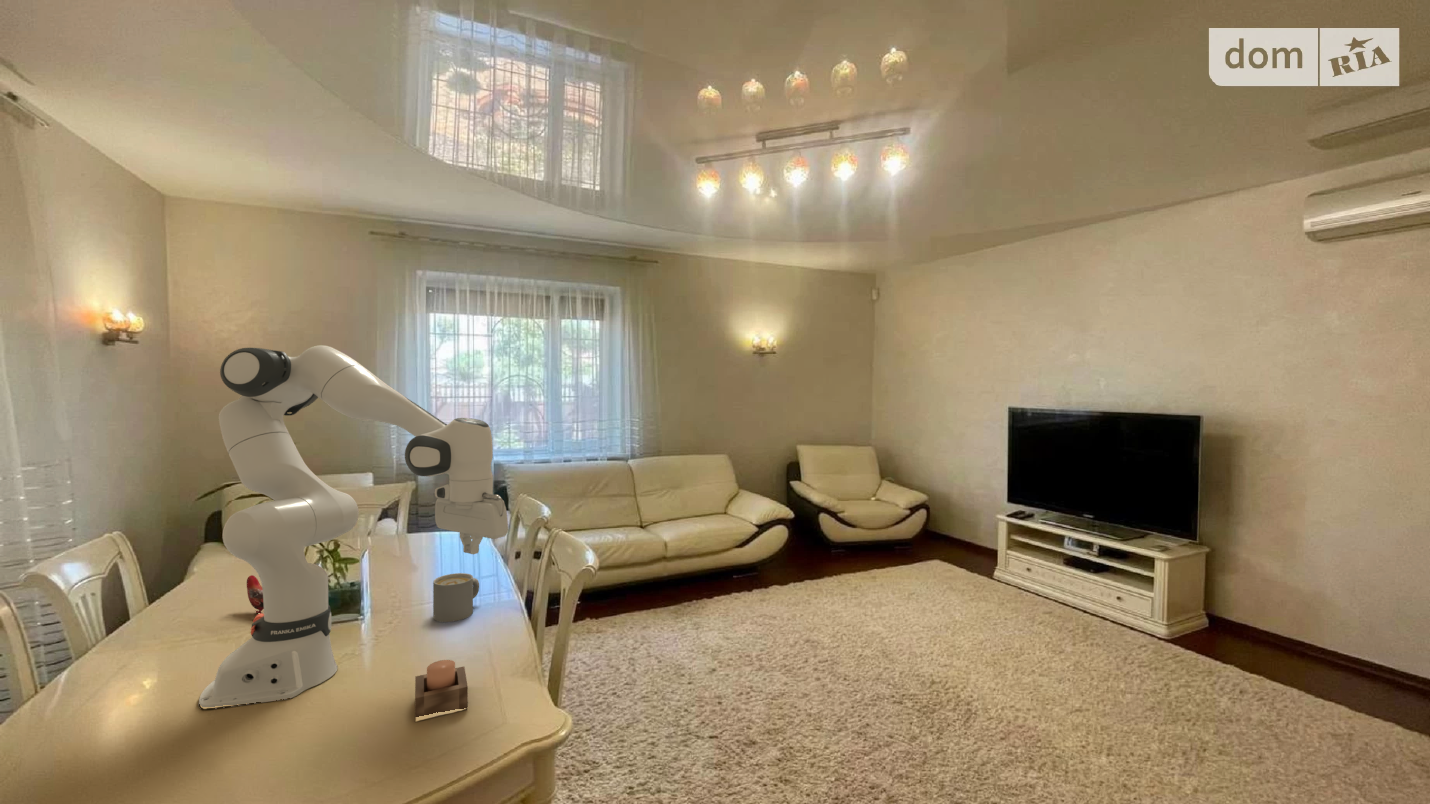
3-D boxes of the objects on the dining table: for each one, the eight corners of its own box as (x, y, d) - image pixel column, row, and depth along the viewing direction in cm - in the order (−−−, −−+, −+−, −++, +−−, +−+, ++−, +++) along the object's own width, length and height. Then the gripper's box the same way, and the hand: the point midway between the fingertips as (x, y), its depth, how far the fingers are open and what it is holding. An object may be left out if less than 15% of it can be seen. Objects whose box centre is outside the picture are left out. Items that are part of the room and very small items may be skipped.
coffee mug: (445, 625, 146) (445, 587, 146) (426, 616, 152) (426, 580, 152) (491, 609, 157) (491, 574, 157) (471, 601, 163) (471, 567, 163)
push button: (427, 695, 106) (427, 674, 106) (426, 683, 110) (426, 663, 110) (455, 688, 108) (455, 668, 108) (454, 677, 113) (454, 657, 112)
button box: (415, 722, 103) (415, 698, 103) (415, 698, 111) (415, 676, 111) (467, 709, 107) (467, 686, 107) (464, 687, 115) (464, 666, 115)
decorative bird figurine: (254, 607, 157) (254, 572, 157) (282, 621, 148) (282, 584, 148) (241, 610, 154) (241, 575, 154) (269, 624, 145) (269, 587, 145)
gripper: (515, 493, 120) (515, 556, 121) (454, 485, 130) (454, 543, 130) (491, 498, 115) (491, 564, 115) (429, 489, 125) (429, 549, 125)
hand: (471, 553), depth 123 cm, fingers closed
